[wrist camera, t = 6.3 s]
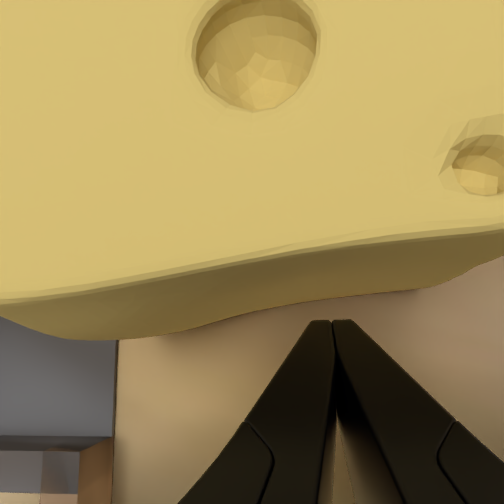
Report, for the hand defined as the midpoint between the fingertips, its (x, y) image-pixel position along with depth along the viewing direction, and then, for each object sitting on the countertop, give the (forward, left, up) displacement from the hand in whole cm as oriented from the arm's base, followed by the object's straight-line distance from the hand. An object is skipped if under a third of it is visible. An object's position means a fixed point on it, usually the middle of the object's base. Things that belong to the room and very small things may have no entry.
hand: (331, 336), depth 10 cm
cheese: (+6, +2, -7) cm, 10 cm away
